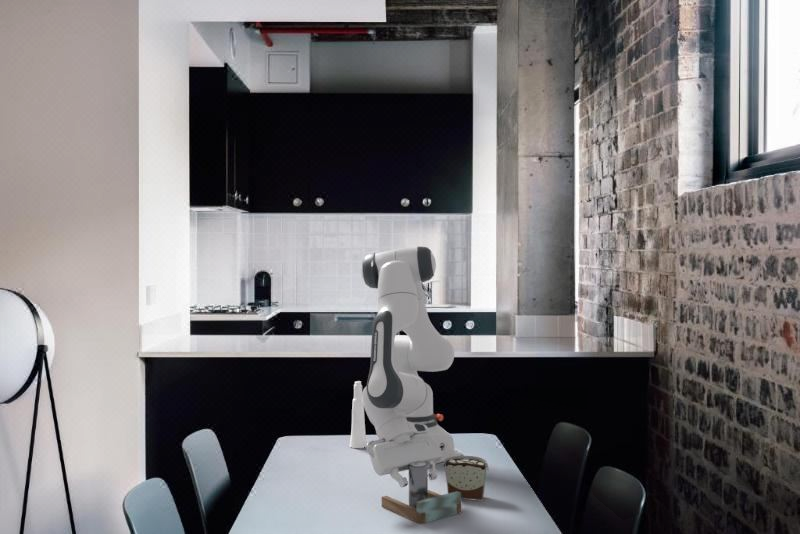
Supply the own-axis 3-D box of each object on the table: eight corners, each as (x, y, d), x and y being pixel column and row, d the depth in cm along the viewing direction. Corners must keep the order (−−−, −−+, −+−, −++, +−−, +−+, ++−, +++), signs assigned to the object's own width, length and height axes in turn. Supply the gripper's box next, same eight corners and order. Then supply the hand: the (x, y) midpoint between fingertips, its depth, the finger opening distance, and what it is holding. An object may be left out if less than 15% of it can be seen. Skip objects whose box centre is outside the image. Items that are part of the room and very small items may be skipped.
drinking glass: (419, 504, 192) (419, 459, 192) (431, 508, 189) (431, 463, 188) (405, 507, 190) (404, 462, 189) (416, 512, 186) (416, 466, 186)
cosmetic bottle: (370, 446, 252) (370, 381, 252) (357, 449, 248) (356, 383, 248) (359, 443, 257) (359, 379, 256) (345, 446, 253) (345, 381, 252)
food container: (493, 494, 200) (493, 457, 200) (488, 501, 194) (488, 463, 194) (449, 490, 204) (448, 453, 204) (442, 496, 198) (442, 459, 198)
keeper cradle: (421, 496, 199) (421, 477, 198) (461, 512, 186) (461, 492, 186) (381, 506, 191) (381, 487, 191) (420, 523, 178) (420, 503, 178)
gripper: (368, 435, 188) (391, 483, 180) (431, 424, 200) (455, 468, 193) (359, 449, 192) (381, 496, 184) (421, 437, 204) (444, 481, 196)
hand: (419, 482), depth 188 cm, fingers open, 8 cm apart
